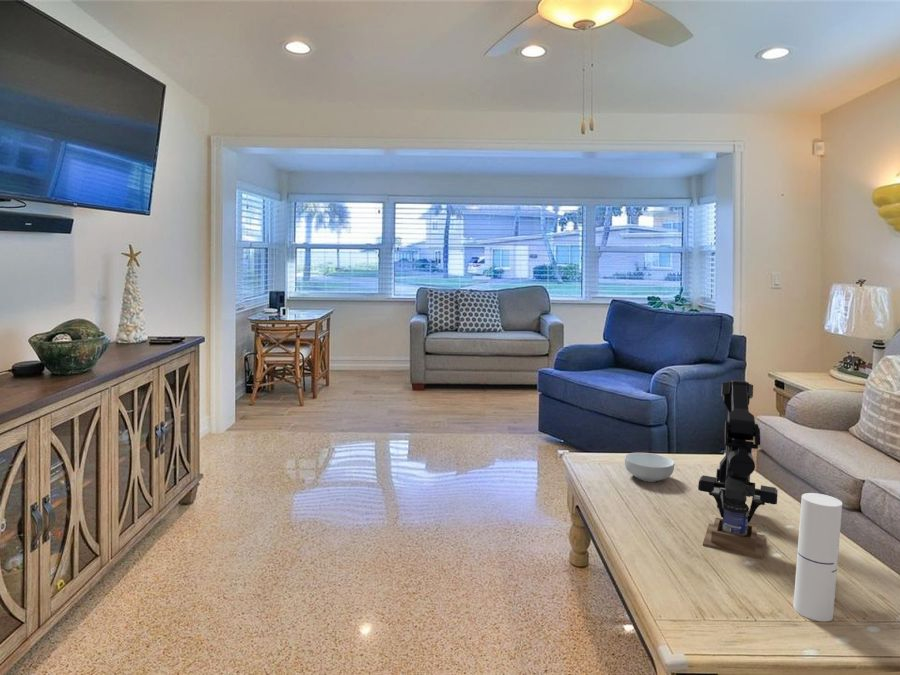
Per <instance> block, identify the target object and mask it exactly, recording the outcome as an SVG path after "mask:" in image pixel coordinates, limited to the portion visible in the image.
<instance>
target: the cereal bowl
mask: <svg viewBox="0 0 900 675" xmlns="http://www.w3.org/2000/svg"><path fill="white" fill-rule="evenodd" d="M624 466H625V469H626V471H627V472H628V473H630V474H631V475H632V476H634V477H636V478H637V479H638V480H640V479H641V481H642V480H643V482H647V481H648V483H656V481H657V482H659V481H662V480H666V479H668V478H670V477H671V475H673V473H674V470H675V461H674V460H673V459H672V458H670V457H667V456H664V455H662V454H658V453H650V452H630V453H628V454H626V455H625V456H624Z"/></svg>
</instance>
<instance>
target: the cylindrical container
mask: <svg viewBox="0 0 900 675" xmlns="http://www.w3.org/2000/svg"><path fill="white" fill-rule="evenodd" d="M800 502H801V503H800V513H799V516H800V517H799V529H798V540H797V553H796V554H797V555H796V567H795V578H794V579H795V580H794V593H793V605H792V606H793V609H794V610H795V612H796V613H798V614H799V615H801V616H803V617H805V618H807V619H810V620H812V621H818V622H830V621H832V620H833V618H834V608H835V596H836V587H837V586H836V584H837V574H838V561H839V549H840V548H839V547H840V538H841V526H842V525H841V524H842V511H843V502H842V500H840V499H839V498H836V497H835V496H834V497H833V496H831V495H827V494H823V493H817V492H808V493H806V492H805V493H803V494H801V501H800Z"/></svg>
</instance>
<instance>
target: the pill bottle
mask: <svg viewBox="0 0 900 675" xmlns="http://www.w3.org/2000/svg"><path fill="white" fill-rule="evenodd" d="M747 498H748V497H747V496H746V500H745V501H740V500H737V499H729V498H727V499H728V500H727V501H725V502H724V506H723V518H722V519H723V524H722V531H723V532H725V533H729V534H734V535H739V536H743V537H746V536H747V530H748V524H749V523H748V516H749V511H750V507H749V505H748V504H747V503H746V502H747Z"/></svg>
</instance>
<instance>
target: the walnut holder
mask: <svg viewBox="0 0 900 675" xmlns="http://www.w3.org/2000/svg"><path fill="white" fill-rule="evenodd" d="M714 518H715V519H714V522H713V523H712V524H711V523H708V526H707V529H706V532H705V535H704V539H703V541H702V546H705V547H709V548H712V549H717V550H722V551H725V552H731V553H736V554H739V555H744V556H749V557H750V558H751V557H752V558H757V559H762V560H763V558H764V545H765V535H764V534H760V533H758V526H757V525H755V524H751V523H748V530H747V536H746V537H743V536H739V535H734V534H729V533H725V532H723V531H722V524H723V518H722V517H714Z"/></svg>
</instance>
